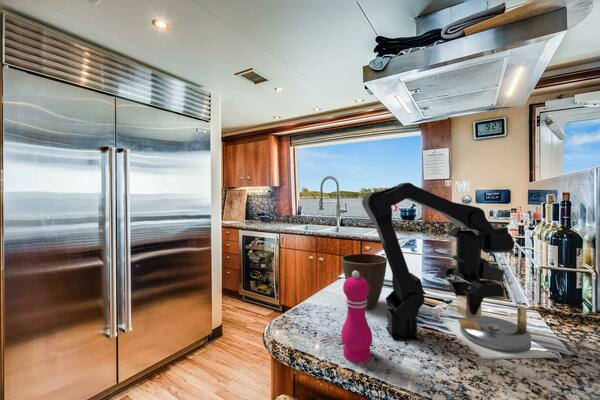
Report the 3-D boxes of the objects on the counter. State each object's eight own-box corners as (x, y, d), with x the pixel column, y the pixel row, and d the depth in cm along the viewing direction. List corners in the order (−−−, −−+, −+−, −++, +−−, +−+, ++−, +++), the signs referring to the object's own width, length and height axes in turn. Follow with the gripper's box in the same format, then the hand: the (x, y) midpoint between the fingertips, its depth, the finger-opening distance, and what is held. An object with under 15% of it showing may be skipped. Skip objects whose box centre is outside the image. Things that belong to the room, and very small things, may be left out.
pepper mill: (338, 347, 69) (337, 267, 69) (366, 345, 70) (365, 266, 69) (345, 365, 62) (344, 276, 62) (377, 363, 63) (376, 274, 62)
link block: (466, 318, 73) (466, 301, 73) (457, 311, 77) (457, 295, 77) (481, 318, 73) (481, 301, 73) (471, 311, 77) (471, 295, 77)
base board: (483, 359, 63) (483, 357, 63) (443, 324, 80) (443, 322, 80) (556, 357, 64) (556, 355, 64) (501, 322, 81) (501, 321, 81)
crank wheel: (543, 357, 62) (543, 321, 62) (465, 345, 68) (465, 312, 67) (517, 326, 77) (517, 297, 76) (454, 319, 82) (454, 291, 82)
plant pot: (342, 313, 89) (341, 263, 89) (342, 296, 104) (341, 253, 103) (391, 315, 87) (390, 264, 86) (384, 297, 101) (383, 253, 101)
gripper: (527, 261, 66) (526, 326, 66) (475, 246, 84) (475, 297, 85) (480, 262, 66) (480, 328, 66) (439, 246, 84) (439, 298, 85)
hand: (468, 311), depth 75 cm, fingers closed on link block, 4 cm apart
